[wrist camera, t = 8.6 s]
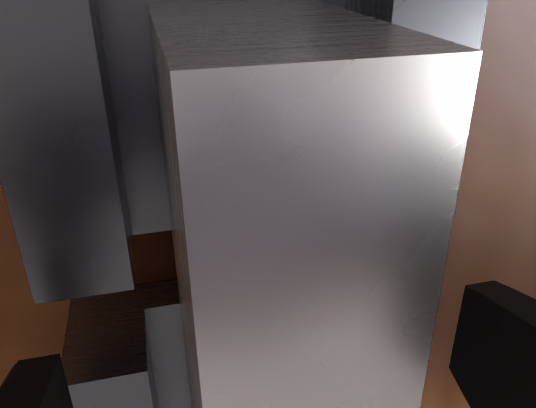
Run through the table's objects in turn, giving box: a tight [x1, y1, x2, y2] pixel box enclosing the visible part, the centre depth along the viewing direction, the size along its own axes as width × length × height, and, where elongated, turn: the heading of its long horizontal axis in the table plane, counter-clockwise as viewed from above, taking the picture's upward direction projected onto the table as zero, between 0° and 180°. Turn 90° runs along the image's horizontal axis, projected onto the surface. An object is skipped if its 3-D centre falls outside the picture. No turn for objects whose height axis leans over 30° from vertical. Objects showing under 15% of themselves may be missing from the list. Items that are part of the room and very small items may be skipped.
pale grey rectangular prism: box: [147, 0, 483, 408], centre depth 10 cm, size 3×11×6 cm, turn 0°
